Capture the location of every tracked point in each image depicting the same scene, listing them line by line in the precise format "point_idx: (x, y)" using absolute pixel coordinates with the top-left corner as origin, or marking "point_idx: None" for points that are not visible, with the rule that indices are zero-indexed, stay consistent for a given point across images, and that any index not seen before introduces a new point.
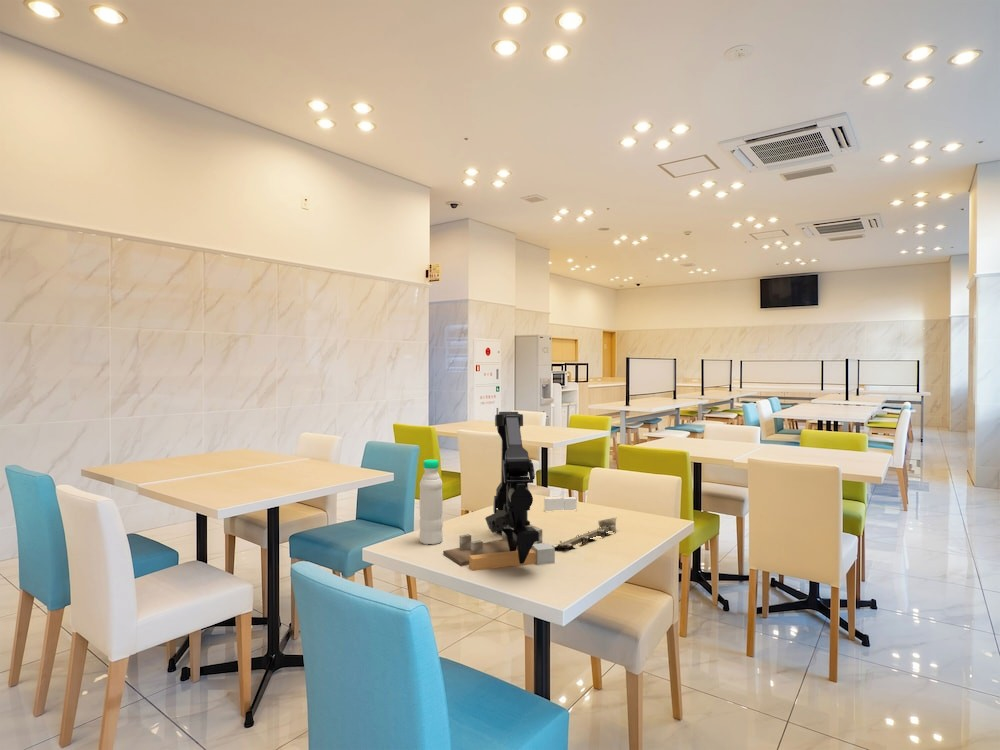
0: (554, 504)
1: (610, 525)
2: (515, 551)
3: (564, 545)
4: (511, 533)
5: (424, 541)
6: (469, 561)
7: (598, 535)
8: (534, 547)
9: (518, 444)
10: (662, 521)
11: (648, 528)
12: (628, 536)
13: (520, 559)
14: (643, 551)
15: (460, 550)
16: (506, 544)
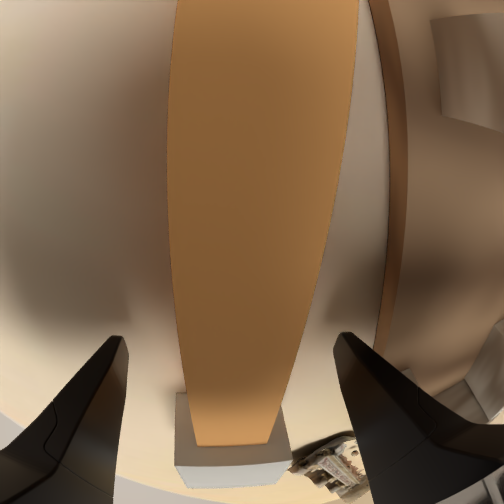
0: (491, 422)
1: (350, 490)
2: (269, 384)
3: (308, 465)
4: (412, 473)
5: None
6: None
7: (337, 479)
8: (231, 464)
9: None
10: (331, 499)
11: (318, 498)
12: (302, 494)
13: (93, 361)
14: (214, 499)
15: None
16: (472, 327)
